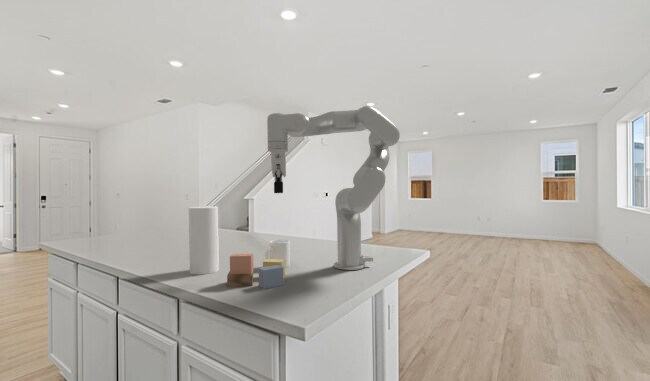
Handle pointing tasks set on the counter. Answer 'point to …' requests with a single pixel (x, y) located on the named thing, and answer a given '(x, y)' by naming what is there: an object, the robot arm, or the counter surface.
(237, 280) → the walnut block
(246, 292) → the counter surface
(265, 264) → the mustard brick
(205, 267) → the tall pillar cylinder
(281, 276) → the slate brick
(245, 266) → the terracotta brick
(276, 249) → the mug
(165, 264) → the counter surface
